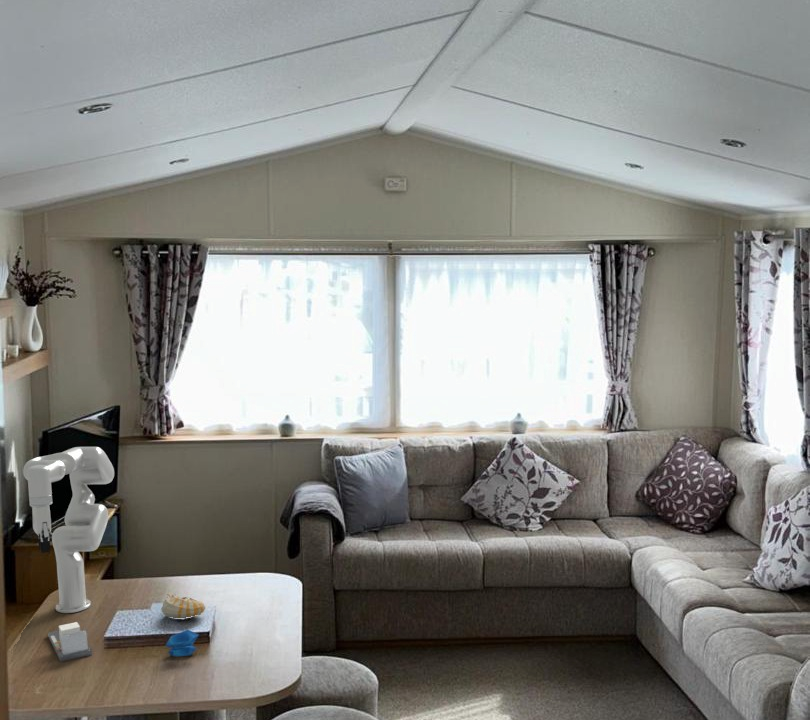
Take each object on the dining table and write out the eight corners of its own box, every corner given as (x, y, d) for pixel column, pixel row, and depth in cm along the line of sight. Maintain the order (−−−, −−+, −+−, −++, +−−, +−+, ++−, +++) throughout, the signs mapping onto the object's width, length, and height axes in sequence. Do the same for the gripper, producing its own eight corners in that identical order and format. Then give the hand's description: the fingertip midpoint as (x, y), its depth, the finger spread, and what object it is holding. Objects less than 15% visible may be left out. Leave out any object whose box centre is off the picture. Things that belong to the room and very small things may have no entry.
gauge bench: (48, 636, 334) (46, 616, 333) (77, 630, 339) (76, 610, 338) (60, 661, 313) (59, 640, 312) (91, 654, 318) (90, 633, 317)
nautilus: (152, 612, 355) (191, 605, 363) (168, 628, 337) (209, 621, 344) (151, 591, 355) (191, 585, 363) (168, 606, 336) (209, 599, 344)
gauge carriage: (53, 641, 323) (52, 627, 323) (78, 635, 327) (76, 621, 327) (56, 646, 319) (55, 632, 318) (80, 640, 323) (79, 626, 322)
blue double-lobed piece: (162, 632, 318) (197, 621, 319) (170, 655, 320) (205, 645, 321) (160, 641, 311) (196, 630, 312) (167, 665, 312) (203, 654, 313)
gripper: (26, 496, 341) (29, 546, 343) (33, 507, 326) (37, 559, 329) (48, 493, 344) (51, 542, 346) (56, 503, 330) (60, 555, 332)
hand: (44, 550), depth 337 cm, fingers open, 3 cm apart
